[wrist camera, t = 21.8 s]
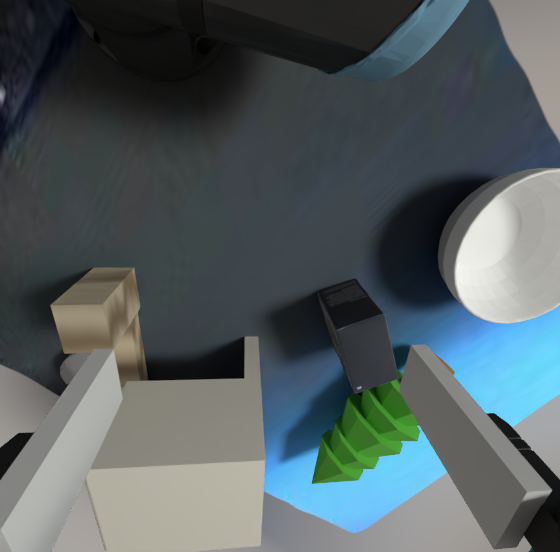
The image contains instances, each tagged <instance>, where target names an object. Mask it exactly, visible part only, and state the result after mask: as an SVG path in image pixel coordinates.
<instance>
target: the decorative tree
mask: <svg viewBox="0 0 560 552" xmlns="http://www.w3.org/2000/svg"><path fill="white" fill-rule="evenodd" d="M435 355H436V354H435ZM436 356H437V355H436ZM437 357H438V356H437ZM438 359H439V360H440V361H441V362H442V363H443V364H444V366H445V367H446V368H447V369H448V370H449V371H450V372H451V374H452V375H453V374H454V371H453V370H452V369H451V368H450V367H449V366H448V365H447V364H446V363H445V362H444V361H443V360H442V359H441V358H439V357H438ZM397 372H398V377H399V379H397V380H394V381H391V382H388V383H385V384H382V385H380V386H377V387H373V388H371V389H368V390H365V391H363V395H362V397H361V396H359V395H358V394H356V393H352V394H351V395H350V396H349V397H348V398H347V402H346V407H345V411H344V415H342V416H341V417H340V418H338V419H337V420H336V421H335V425H334V429H333V432H332V431H330V430H328V431H327V432H326V433H325V434H324V435H322V438H321V443H320V448H319V452H318V457H317V462H316V466H315V471H314V475H313V480H312V484H314V483H328V482H341V481H354V480H359V478H360V476H361V474H362V472H363V469H374V468H375V466H376V464H377V462H378V460H379V458H378V457H379V456H387V455H395V454H400V451H401V448H402V443H401V441H418V437H419V433H420V430H419V429H418V427H417V426H418V425H419V424H418V422H417V420H416V419H415V417H414V415H413V414H412V412H411V410H410V409H409V407H408V405H407V404H406V402H405V400H404V399H403V397H402V395H401V394H400V392H399V388H400V384H401V380H402V377H403V373H401V372H400V371H398V370H397Z"/></svg>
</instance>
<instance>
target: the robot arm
mask: <svg viewBox="0 0 560 552" xmlns="http://www.w3.org/2000/svg"><path fill="white" fill-rule="evenodd" d="M64 1H66V2H67V3H68V4H70V5H71V8H72V10H73V12H74V14H75V16H76V17H77V19H78V21H79V22H80V24H81V26H82V27H83V29H84V30H85V31H86V33H87V34H88V35H89V37H90V38H91V39H92V40H93V41H94V43H95V44H96V45H97V46H98V47H99V48H100V49H101V50H102V51H103V52H104V53H105V54H106V55H108V56H109V57H110V58H111V59H113V60H114V61H115V62H117V63H118V64H120V65H121V66H123V67H125V68H126V69H128V70H130V71H132V72H134V73H136V74H138V75H140V76H143V77H145V78H149V79H153V80H158V81H177V80H182V79H186V78H189V77H191V76H194V75H196V74H198V73H199V72H201V71H202V70H204V69H205V68H206V67H207V66H209V65H210V64H211V63H212V62H213V61H214V59H215V58H216V57H217V56H218V54H219V53H220V51H221V50H222V48H223V46H224V44H225V42H226V43H229V44H233V45H236V46H240V47H243V48H247V49H250V50H254V51H257V52H261V53H264V54H268V55H271V56H275V57H278V58H282V59H285V60H289V61H292V62H296V63H299V64H303V65H306V66H310V67H313V68H317V69H318V70H319V71H320V72H322V73H323V74H326V75H328V76H333V75H334V76H343V75H344V76H349V77H353V78H358V79H362V80H367V81H380V80H385V79H389V78H392V77H394V76H396V75H398V74H400V73H401V72H403V71H405V70H406V69H408V68H409V67H411V66H412V65H413V64H414V63H416V62H417V61H418V60H419V59H420V58H421V57H422V56H424V55H425V54H426V53H427V52H428V51H429V50H430V49H431V48H432V47H433V46H434V44H435V43H436V42H437V41H438V40H439V39H440V38H441V37H442V36H443V34H444V33H445V32H446V31H447V30H448V28H449V27H450V26H451V25H452V23H453V22H454V21H455V19H456V18H457V17H458V15H459V14H460V13H461V11H462V10H463V9H464V7H465V6H466V4H467V3H468V2H469V0H64ZM399 392H400V394H401V395H402V397H403V399H404V400H405V402H406V404H407V405H408V407H409V409H410V410H411V412H412V414H413V415H414V417H415V419H416V420H417V422H418V424H419V425H420V427H421V429H422V430H423V432H424V434H425V435H426V437H427V439H428V440H429V442H430V444H431V445H432V447H433V449H434V450H435V452H436V454H437V455H438V457H439V459H440V460H441V462H442V464H443V465H444V467H445V469H446V470H447V472H448V474H449V475H450V477H451V479H452V480H453V482H454V484H455V485H456V487H457V489H458V490H459V492H460V494H461V495H462V497H463V499H464V500H465V502H466V504H467V505H468V507H469V509H470V510H471V512H472V514H473V515H474V517H475V519H476V520H477V522H478V524H479V525H480V527H481V529H482V530H483V532H484V534H485V535H486V537H487V539H488V540H489V542H490V544H491V545H492V547H493V549H502V548H513V547H517V545H518V544H519V542H520V541H521V539H522V538H523V536H525V538H526V539H527V540H528V542H529V543H530V545H531V546H532V548H531V550H530V551H529V552H560V479H559V478H558V477H557V476H556V475H555V474H554V473H553V472H552V471H551V470H550V468H549V467H548V466H547V465H546V464H545V463H544V462H543V461H542V460H541V459H540V458H539V456H538V455H537V454H536V453H535V452H534V451H532V450H531V448H530V447H529V446H528V444H527V443H526V442H525V441H524V440H522V439H521V437H520V436H519V435H518V433H517V432H516V431H515V430H514V429H513V428H512V427H511V426H510V425H509V424H508V423H507V422H505V421H504V420H503V419H501V418H500V417H498V416H497V415H496V414H494V413H489V414H486V413H485V412H484V411H483V409H482V408H481V407H480V406H479V405H478V404H477V403H476V401H475V400H474V399H473V398H472V397H471V396H470V394H469V393H468V392H467V391H466V390H465V389H464V388H463V386H462V385H461V384H460V383H459V382H458V381H457V379H456V378H455V377H454V376H453V375H452V374H451V372H450V371H449V370H448V369H447V368H446V367H445V366H444V364H443V363H442V362H441V361H440V360H439V359H438V357H437V356H436V355H435V354H434V353H433V352H432V351H431V349H430V348H429V347H428V346H427V345H411V347H410V351H409V354H408V358H407V362H406V366H405V369H404V373H403V377H402V380H401V384H400V388H399ZM122 400H123V396H122V391H121V385H120V380H119V375H118V369H117V364H116V359H115V353H114V349H94V350H93V351H92V353H91V354H90V356H89V357H88V358H87V360H86V361H85V363H84V364H83V365H82V367H81V368H80V370H79V371H78V372H77V374H76V375H75V377H74V378H73V379H72V381H71V382H70V384H69V385H68V386H67V388H66V389H65V391H64V392H63V393H62V395H61V396H60V398H59V399H58V400H57V402H56V403H55V405H54V406H53V407H52V409H51V410H50V412H49V413H48V414H47V416H46V417H45V419H44V420H43V421H42V423H41V424H40V426H39V427H38V428H37V430H36V431H35V432H34V433H18V434H17V435H15V436H14V437H13V438H12V439H11V440H9V441H8V442H7V443H5V444H4V445H3V446H2V447H1V448H0V552H51V551H52V549H53V547H54V545H55V543H56V541H57V538H58V536H59V534H60V532H61V530H62V528H63V525H64V524H65V521H66V519H67V517H68V515H69V513H70V510H71V509H72V506H73V504H74V502H75V500H76V498H77V495H78V493H79V492H80V490H81V487H82V485H83V483H84V481H85V479H86V477H87V475H88V472H89V470H90V468H91V466H92V464H93V462H94V460H95V458H96V455H97V453H98V451H99V449H100V447H101V445H102V443H103V441H104V438H105V436H106V434H107V432H108V430H109V428H110V426H111V423H112V421H113V419H114V417H115V415H116V413H117V411H118V409H119V406H120V404H121V402H122Z"/></svg>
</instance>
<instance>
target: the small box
mask: <svg viewBox="0 0 560 552" xmlns="http://www.w3.org/2000/svg"><path fill="white" fill-rule="evenodd" d="M317 295H318V299H319V302H320V305H321V308H322V312H323V315H324V318H325V321H326V325H327V328H328V331H329V335H330V338H331V341H332V344H333V347H334V349H335V351H336V353H337V355H338V357H339V359H340V361H341V364H342V366H343V369H344V371H345V373H346V375H347V378H348V380H349V382H350V384H351V387H352V389H353V391H354V393H359V392H362V391H365V390H368V389H371V388H373V387H377V386H380V385H382V384H385V383H388V382H391V381H394V380H397V379H399V377H398V372H397V368H396V363H395V359H394V354H393V350H392V345H391V340H390V336H389V331H388V326H387V321H386V316H385V314H384V313H383V312H382V310H381V309H380V308H379V307H378V305H377V304H376V303H375V302H374V301H373V299H372V298H371V297H370V296H369V294H368V293H367V292H366V291H365V289H364V288H363V287H362V286H361V284H360V283H359V282H358V280H357V279H352V280H349V281H346V282H343V283H340V284H337V285H334V286H331V287H328V288H325V289H322V290H319V291H317Z"/></svg>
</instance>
